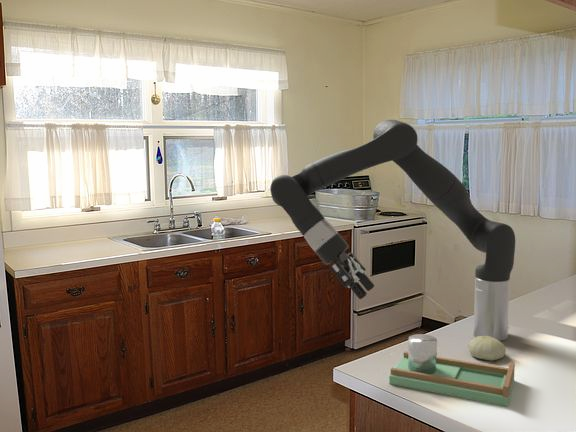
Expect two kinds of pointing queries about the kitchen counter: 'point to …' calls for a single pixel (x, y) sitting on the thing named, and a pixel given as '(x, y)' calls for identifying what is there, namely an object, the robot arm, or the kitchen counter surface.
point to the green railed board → (459, 380)
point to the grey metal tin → (422, 353)
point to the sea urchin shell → (486, 348)
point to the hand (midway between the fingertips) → (367, 292)
